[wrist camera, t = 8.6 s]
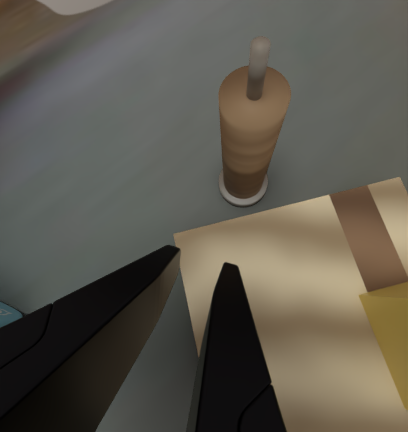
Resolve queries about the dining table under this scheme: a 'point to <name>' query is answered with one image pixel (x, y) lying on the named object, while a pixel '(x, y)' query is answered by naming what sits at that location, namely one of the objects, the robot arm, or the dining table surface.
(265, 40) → the awl
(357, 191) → the panel
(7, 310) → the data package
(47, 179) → the dining table surface
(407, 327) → the yellow block
